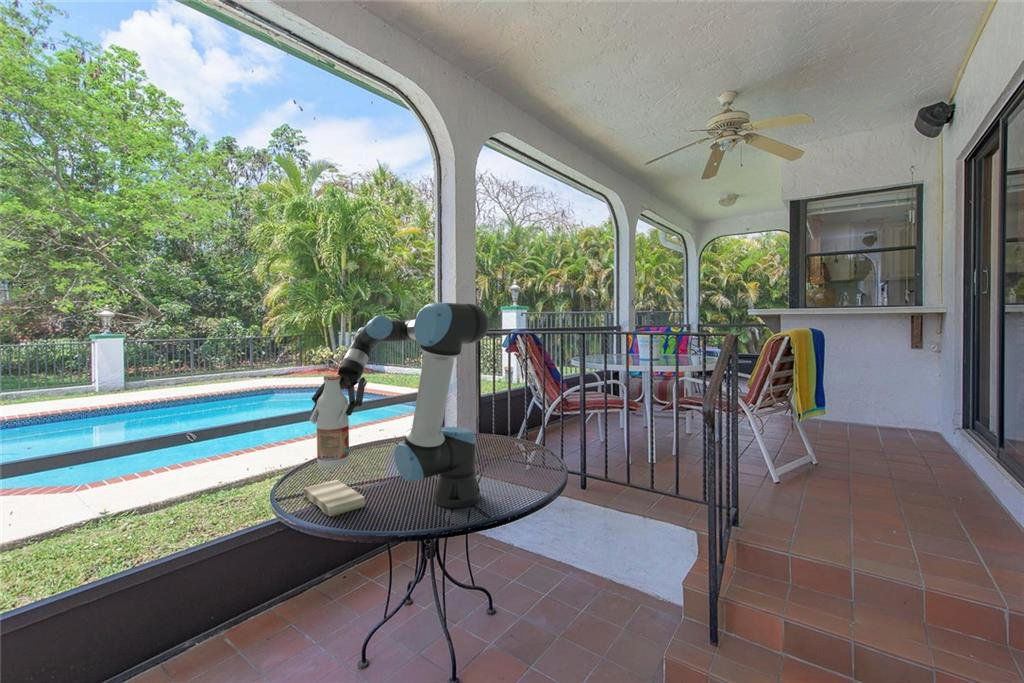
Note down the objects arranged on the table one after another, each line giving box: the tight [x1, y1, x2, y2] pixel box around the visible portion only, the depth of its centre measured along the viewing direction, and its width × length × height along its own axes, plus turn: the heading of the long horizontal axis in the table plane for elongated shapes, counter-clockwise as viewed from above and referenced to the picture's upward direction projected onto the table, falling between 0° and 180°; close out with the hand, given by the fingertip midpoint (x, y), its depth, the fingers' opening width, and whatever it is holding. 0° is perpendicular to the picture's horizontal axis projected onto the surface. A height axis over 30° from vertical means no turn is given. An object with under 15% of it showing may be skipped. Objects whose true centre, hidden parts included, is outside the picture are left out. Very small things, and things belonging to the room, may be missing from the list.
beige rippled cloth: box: [303, 479, 366, 518], centre depth 142 cm, size 20×11×3 cm, turn 45°
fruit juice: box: [316, 374, 350, 469], centre depth 141 cm, size 9×9×28 cm
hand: (326, 422), depth 138 cm, fingers closed on fruit juice, 9 cm apart
